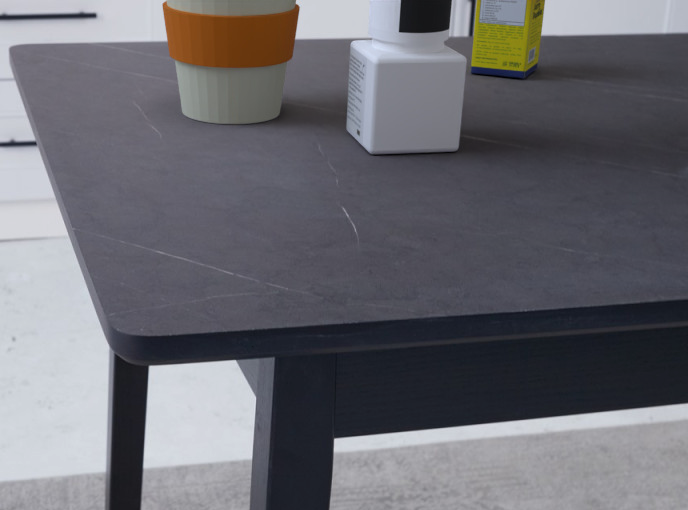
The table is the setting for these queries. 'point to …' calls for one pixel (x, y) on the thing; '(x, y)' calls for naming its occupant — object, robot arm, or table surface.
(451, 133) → the container
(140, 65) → the table surface
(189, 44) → the reusable coffee cup
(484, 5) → the supplement box
